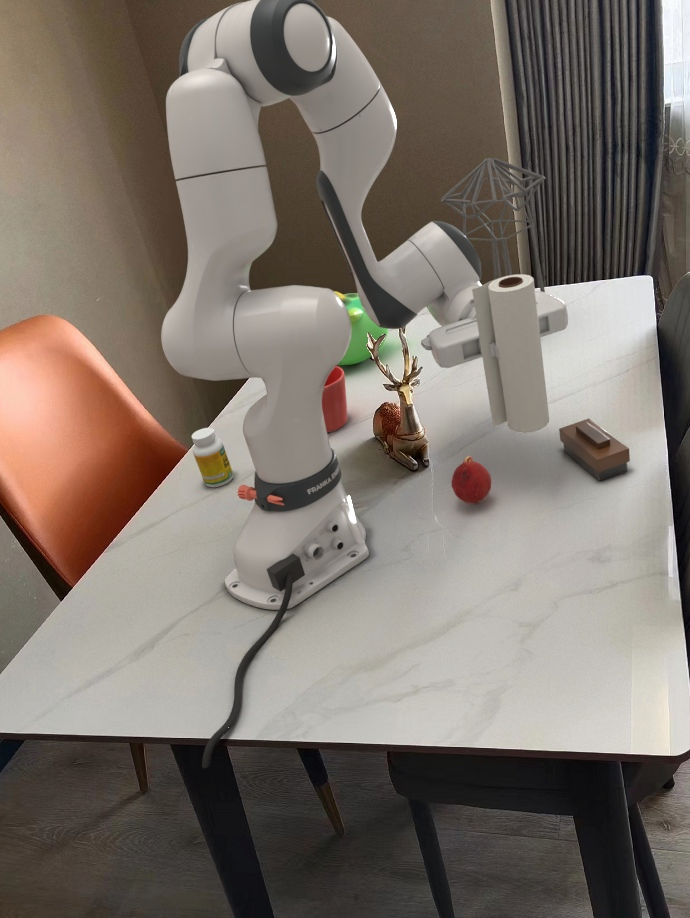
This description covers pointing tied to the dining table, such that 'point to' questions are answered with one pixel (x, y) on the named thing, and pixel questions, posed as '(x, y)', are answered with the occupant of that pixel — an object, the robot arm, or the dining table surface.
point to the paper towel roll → (512, 352)
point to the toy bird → (359, 330)
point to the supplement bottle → (211, 458)
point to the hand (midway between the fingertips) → (520, 347)
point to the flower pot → (334, 400)
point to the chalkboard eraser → (595, 449)
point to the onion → (471, 481)
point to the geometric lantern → (477, 182)
